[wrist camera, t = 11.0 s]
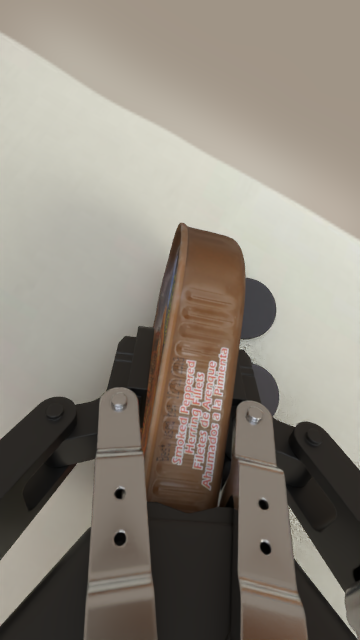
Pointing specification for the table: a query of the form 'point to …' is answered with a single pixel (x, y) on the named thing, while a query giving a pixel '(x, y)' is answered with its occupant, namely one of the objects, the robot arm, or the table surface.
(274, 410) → the dark grey disc
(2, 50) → the table surface
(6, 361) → the table surface
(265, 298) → the dark grey disc
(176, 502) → the tin
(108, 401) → the robot arm
